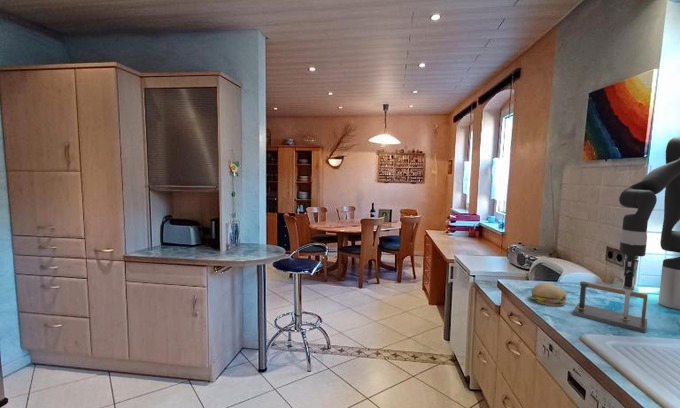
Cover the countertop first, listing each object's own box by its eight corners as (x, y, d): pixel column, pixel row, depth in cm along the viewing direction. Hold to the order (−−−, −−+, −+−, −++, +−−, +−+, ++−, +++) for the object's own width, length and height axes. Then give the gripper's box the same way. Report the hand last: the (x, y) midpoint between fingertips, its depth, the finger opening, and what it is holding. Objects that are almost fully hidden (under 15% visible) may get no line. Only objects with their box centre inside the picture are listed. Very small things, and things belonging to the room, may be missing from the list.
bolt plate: (578, 306, 146) (580, 279, 145) (646, 322, 131) (650, 292, 130) (572, 314, 138) (575, 285, 136) (644, 333, 122) (648, 300, 121)
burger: (572, 308, 144) (573, 290, 144) (535, 305, 147) (536, 287, 146) (558, 297, 157) (560, 280, 156) (525, 294, 159) (526, 278, 159)
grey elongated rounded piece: (621, 314, 134) (625, 273, 132) (631, 317, 132) (635, 275, 130) (619, 318, 130) (623, 275, 129) (630, 320, 128) (634, 277, 127)
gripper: (622, 238, 135) (618, 278, 137) (618, 243, 125) (613, 286, 127) (647, 241, 130) (643, 283, 132) (645, 246, 120) (640, 291, 121)
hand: (628, 284), depth 129 cm, fingers open, 6 cm apart
